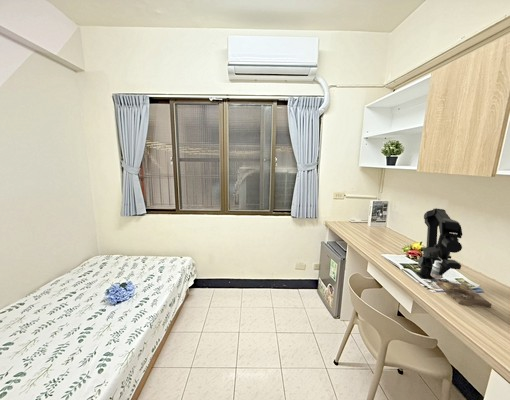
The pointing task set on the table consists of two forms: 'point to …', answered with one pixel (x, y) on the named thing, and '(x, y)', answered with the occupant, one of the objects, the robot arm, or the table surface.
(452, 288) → the pin board
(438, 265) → the pill bottle
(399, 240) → the table surface
